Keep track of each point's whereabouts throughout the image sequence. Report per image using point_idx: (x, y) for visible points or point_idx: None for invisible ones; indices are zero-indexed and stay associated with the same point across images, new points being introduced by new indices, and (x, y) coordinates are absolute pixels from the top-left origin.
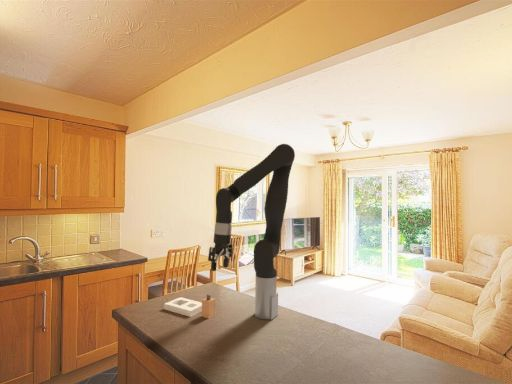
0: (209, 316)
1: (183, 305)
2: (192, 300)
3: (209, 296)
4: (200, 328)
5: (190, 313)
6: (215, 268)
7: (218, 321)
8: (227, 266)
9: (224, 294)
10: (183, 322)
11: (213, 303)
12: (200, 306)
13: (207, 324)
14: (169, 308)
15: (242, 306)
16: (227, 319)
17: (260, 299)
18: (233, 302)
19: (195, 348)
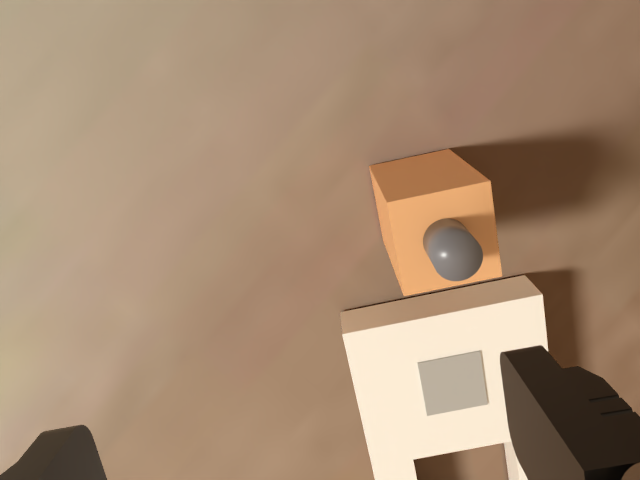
0: (445, 152)
1: (498, 425)
2: (376, 462)
3: (464, 231)
4: (616, 53)
5: (535, 287)
6: (550, 368)
7: (428, 48)
8: (51, 433)
9: (3, 458)
10: (617, 239)
11: (410, 186)
12: (417, 319)
13: (529, 71)
14: None
15: (45, 141)
16: (346, 20)
17: None
18: (53, 271)
19: None
